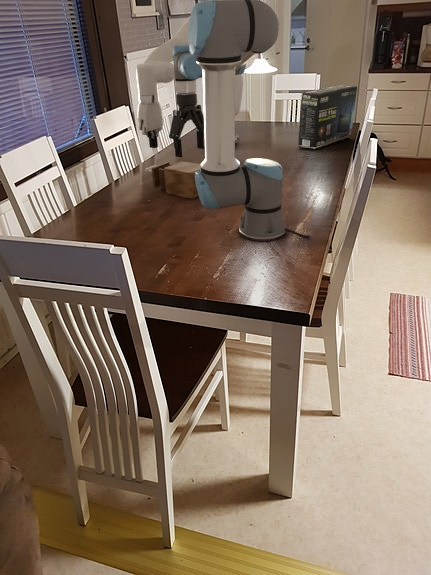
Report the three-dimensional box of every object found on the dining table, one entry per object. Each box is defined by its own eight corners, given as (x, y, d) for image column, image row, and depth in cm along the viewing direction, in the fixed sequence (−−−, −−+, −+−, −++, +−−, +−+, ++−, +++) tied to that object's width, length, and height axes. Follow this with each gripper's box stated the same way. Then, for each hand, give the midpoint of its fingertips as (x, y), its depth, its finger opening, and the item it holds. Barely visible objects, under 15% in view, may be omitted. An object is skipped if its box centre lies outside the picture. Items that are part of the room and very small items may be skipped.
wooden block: (166, 193, 186) (163, 168, 180) (183, 185, 193) (181, 161, 188) (192, 198, 179) (190, 173, 173) (208, 190, 186) (207, 165, 181)
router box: (314, 151, 231) (318, 94, 217) (296, 148, 237) (299, 92, 224) (352, 138, 251) (358, 85, 238) (335, 135, 258) (340, 83, 245)
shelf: (142, 185, 192) (140, 165, 188) (158, 178, 199) (156, 159, 195) (175, 192, 183) (174, 172, 179) (191, 185, 190) (189, 165, 186)
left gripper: (154, 95, 183) (159, 142, 193) (128, 101, 173) (134, 150, 183) (168, 96, 180) (172, 144, 189) (142, 103, 169) (148, 153, 179)
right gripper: (198, 87, 176) (201, 144, 187) (155, 97, 159) (161, 159, 170) (214, 88, 172) (216, 146, 183) (172, 99, 155) (177, 161, 166)
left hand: (153, 147), depth 186 cm, fingers closed
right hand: (190, 152), depth 176 cm, fingers open, 13 cm apart
